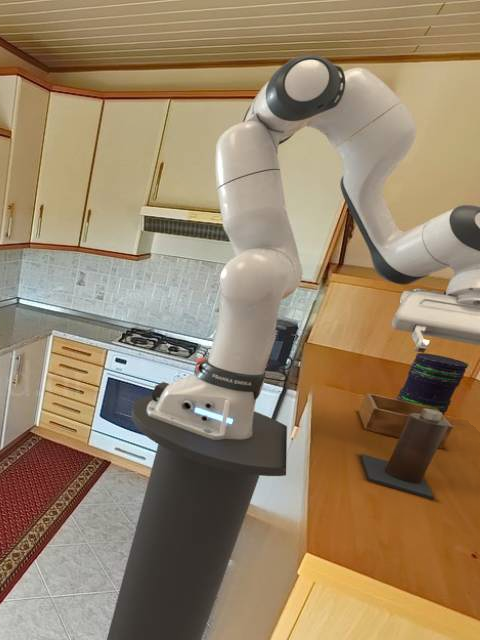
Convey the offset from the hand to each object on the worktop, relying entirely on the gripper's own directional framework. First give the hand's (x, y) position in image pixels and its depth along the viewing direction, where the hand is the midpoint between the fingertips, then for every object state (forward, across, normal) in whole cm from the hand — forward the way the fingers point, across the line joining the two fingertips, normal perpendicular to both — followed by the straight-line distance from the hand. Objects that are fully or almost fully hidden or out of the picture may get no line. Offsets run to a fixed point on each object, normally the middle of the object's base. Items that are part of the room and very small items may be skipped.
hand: (454, 357), depth 85 cm
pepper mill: (+19, 0, +13) cm, 23 cm away
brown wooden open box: (-4, -2, +36) cm, 36 cm away
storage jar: (-17, +2, +49) cm, 52 cm away
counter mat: (+19, -1, +13) cm, 23 cm away
